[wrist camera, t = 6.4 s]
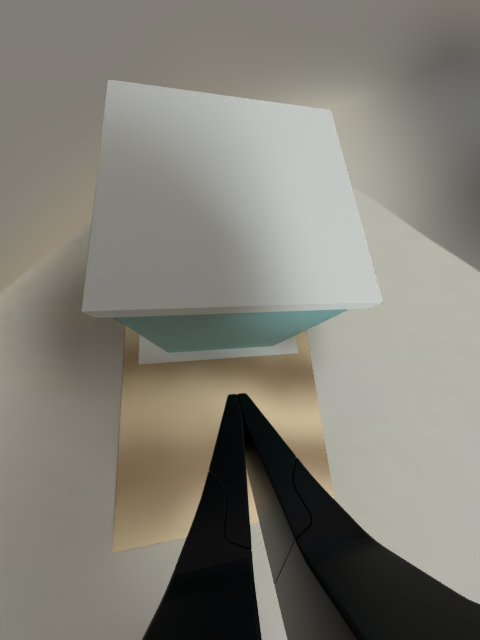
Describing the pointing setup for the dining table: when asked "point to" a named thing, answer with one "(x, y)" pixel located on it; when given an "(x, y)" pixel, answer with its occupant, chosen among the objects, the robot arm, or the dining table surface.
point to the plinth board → (201, 427)
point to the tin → (222, 221)
